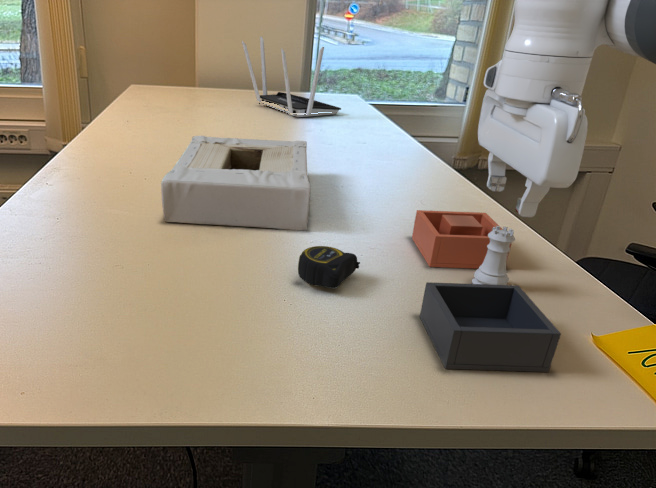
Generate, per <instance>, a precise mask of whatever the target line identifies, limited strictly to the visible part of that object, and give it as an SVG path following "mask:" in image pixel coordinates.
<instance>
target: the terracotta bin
mask: <svg viewBox="0 0 656 488" xmlns="http://www.w3.org/2000/svg"><path fill="white" fill-rule="evenodd" d="M442 215H462V216H473V217H474V218H475V219H476V220H477V221H478V222H479V223H480V224H481V225H482V226H483V228H482V233H481V236H470V235H443V234H439V229H440V223H441V218H442ZM414 218H415V219H414V224H413V230H412V235H411V239H412V241H413V243H414V244H415V246H416V247H417V249H418V251H419V252H420V254H421V255H422V257H423V259H424V260H425V262H426V264H427V265H428V266H429V268H450V269H451V268H452V269H453V268H455V269H479V267H480V266H481V265H482V264H483V262H484V259H485V257H486V254H487V251H488V248H487V245H488V244H489V243H490V239H489V237H488V234H489V233H490V232H491V231H492V228H493V227H496V226H500V225H499V224H498V223H497V222H496V221H495V220H494V219H493V218H492V217H491V216H490V215H489V214H488V213H486V212H480V211H479V212H478V211H477V212H476V211H475V212H474V211H452V210H451V211H450V210H449V211H448V210H445V211H444V210H423V209H416V211H415V217H414ZM500 230H503V228H502V227H501V226H500ZM512 244H513V242H512V243H511V244H510V245H509V248H510V249H511V248H512ZM509 255H510V251H509V252H508V255H507V260H506V264H508V263H507V262H508V259H509Z"/></svg>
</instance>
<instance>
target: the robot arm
mask: <svg viewBox="0 0 656 488" xmlns="http://www.w3.org/2000/svg"><path fill="white" fill-rule="evenodd" d="M513 9H514V24H513V28H512V31H511V33H510V36H509V38H508V40H507V41H506V43H505V46H504V50H503V54H502V58H501V59H500V60H499V61H497V63H495V64H493V65H491V66H490V67H488V68H487V69H486V71H485V73H484V78H483V87H485V88H486V90H485V93H484V96H483V99H482V102H481V103H482V104H481V108H480V114H479V119H478V126H477V140H478V141H477V142H478V145H479V146H481V147H482V148H483V149H486V151H488V152H489V153H488V157H487V165H488V166H487V167H488V168H487V169H488V177H487V182H486V187H487V188H488V190H490V191H492V192H500V193H501V192H503V191H504V190H505V187H506V183H507V180H508V178H507V177H506V168H507V165H508V166H510V168H513V169H514V170H515V171H516V172H518V173H520V174H521V175H522V176H523V177H525V178H526V180H525V185H524V186H525V187H526V189H525V191H524V193H523V195H522V197H518V198H517V201H516V206H515V208H514V211H515V212H516V213H517V214H518V215H519V216H520V217H522V218H533V217H535V216H536V214H537V211H538V208H539V204H540V203H541V202H542V200H543V199H544V198H545V197H546V195H547V194H548V193H549V191H550V189H551V188H553V189H554V188H556V189H565V188H566V189H567V188H569V187H570V186H572V185H573V183H574V182H575V181H576V179H577V178H578V175H579V171H580V167H581V162H582V159H583V155H584V150H585V146H586V141H587V135H588V126H589V121H588V116H587V115H586V110H585V108H584V105H583V102H582V101H583V97H582V94H583V90H584V88H585V84H586V80H587V77H588V74H589V70H590V67H591V63H592V60H593V57H594V54H595V51H596V49H597V48H598V47H600V46H602V45H605V46H607V47H609V48H611V49H613V50H614V51H618V52H621V53H625V54H627V55H630V56H633V57H638V58H642V59H644V60H646V61H648V62H650V63H652V64H655V65H656V0H515V1H514V8H513Z"/></svg>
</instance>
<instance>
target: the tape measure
mask: <svg viewBox="0 0 656 488" xmlns="http://www.w3.org/2000/svg"><path fill="white" fill-rule="evenodd" d="M360 264H361V262H360V261H358V257H357V255H356V254H355V253H352V252H345V251H342V250H341V249H338V248H336V247H332V246H327V245H315V246H310V247H307V248H306V249H304V250H303V251H302V252H301V253H300V254H299V258H298V264H297V273H298V276H299V278H300V279H301V280H302V281H303V282H305V283H306V284H309V285H310V286H315V287H322V288H327V289H337V288H339V287H340V286H341V284H342V283H343V282H344V281H346V279H348V278H349V277H351V276H352V275H353V274H354V273H355V272H356V269H358V270H359V269H360Z"/></svg>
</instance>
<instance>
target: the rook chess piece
mask: <svg viewBox="0 0 656 488" xmlns="http://www.w3.org/2000/svg"><path fill="white" fill-rule="evenodd" d="M500 227H501V226H500V225H499V226H496V227H493V228H492V231H491V232H490V233H489V234H488V237H489V239H490V243H489V244H488V245H487V248H488V251H487V254H486V257H485V259H484V262H483V264H482V265H481V266H480V267H479V269H478V268H476V270H475V271H474V272H473V276H474V277H473V278H472V279H471V282H472V283H471V284H490V285H508V283H509V281H510V278H509V276H508V271H507V263H506V260H507V261H508V259H507V255H508V252H509V253H510V251H511V248H509V245H510V244H511V243H512V244H513V243H514V242H515V241H516V238H515V236H514V233H515V231H514V229H512V228H508V226H503V228H502V229H503V230H500ZM512 244H511V245H512ZM508 256H509V255H508Z"/></svg>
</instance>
